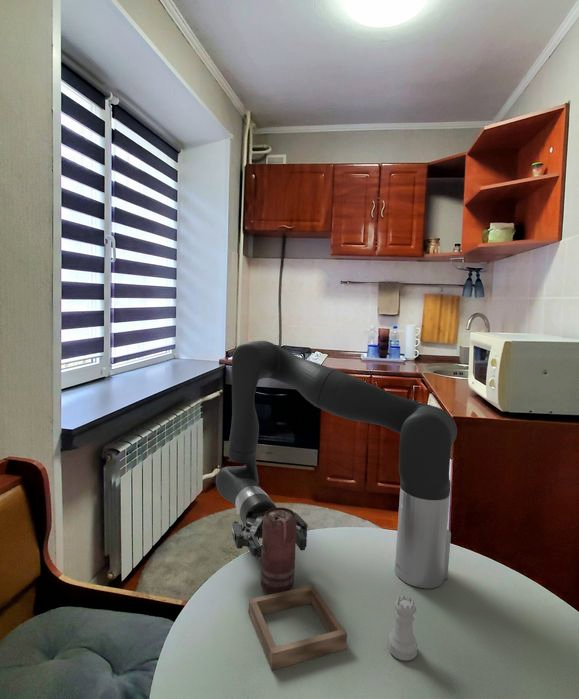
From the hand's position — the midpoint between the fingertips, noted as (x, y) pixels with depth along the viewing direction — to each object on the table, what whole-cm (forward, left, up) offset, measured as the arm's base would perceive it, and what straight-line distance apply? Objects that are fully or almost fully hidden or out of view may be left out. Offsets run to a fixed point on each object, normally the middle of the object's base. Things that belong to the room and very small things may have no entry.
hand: (282, 549), depth 76 cm
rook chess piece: (-13, +18, -8) cm, 24 cm away
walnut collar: (+1, +10, -8) cm, 12 cm away
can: (0, -2, -8) cm, 8 cm away
